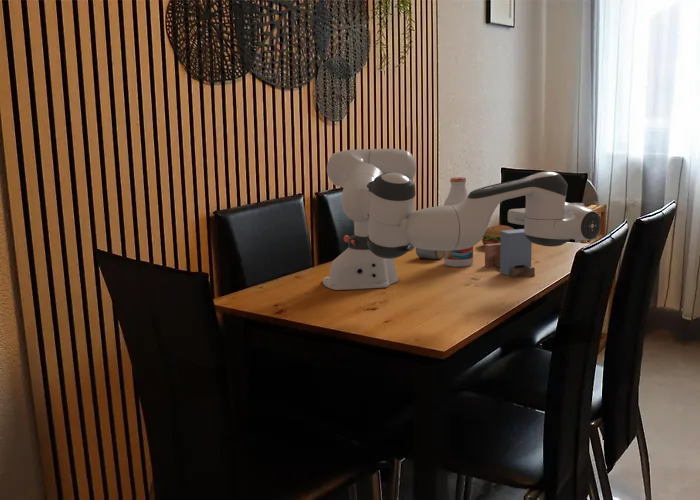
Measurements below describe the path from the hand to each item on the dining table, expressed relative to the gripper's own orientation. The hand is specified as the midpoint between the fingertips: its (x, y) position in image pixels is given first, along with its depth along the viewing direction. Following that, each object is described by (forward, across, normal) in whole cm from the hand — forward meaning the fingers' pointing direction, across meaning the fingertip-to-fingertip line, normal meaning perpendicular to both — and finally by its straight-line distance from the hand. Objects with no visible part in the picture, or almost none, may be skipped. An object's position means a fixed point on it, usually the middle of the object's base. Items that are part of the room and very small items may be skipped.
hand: (529, 211), depth 201 cm
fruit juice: (+27, -10, -20) cm, 35 cm away
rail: (+12, 0, -20) cm, 23 cm away
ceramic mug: (+40, -14, -20) cm, 47 cm away
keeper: (+8, 0, -20) cm, 21 cm away
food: (+46, +15, -20) cm, 52 cm away
